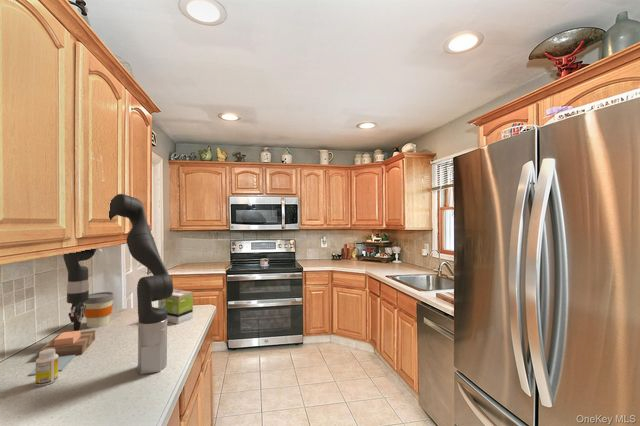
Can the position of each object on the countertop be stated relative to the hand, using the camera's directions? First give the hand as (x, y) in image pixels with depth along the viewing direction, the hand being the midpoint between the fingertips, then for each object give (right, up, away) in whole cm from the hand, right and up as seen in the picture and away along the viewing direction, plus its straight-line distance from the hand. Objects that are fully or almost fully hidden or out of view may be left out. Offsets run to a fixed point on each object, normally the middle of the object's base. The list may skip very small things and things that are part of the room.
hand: (77, 330), depth 131 cm
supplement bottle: (+16, -5, -32) cm, 36 cm away
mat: (+8, -5, -21) cm, 23 cm away
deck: (+3, -5, -7) cm, 9 cm away
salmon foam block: (+4, -1, -9) cm, 10 cm away
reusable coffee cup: (-6, -6, +21) cm, 23 cm away
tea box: (+29, -6, +29) cm, 42 cm away
